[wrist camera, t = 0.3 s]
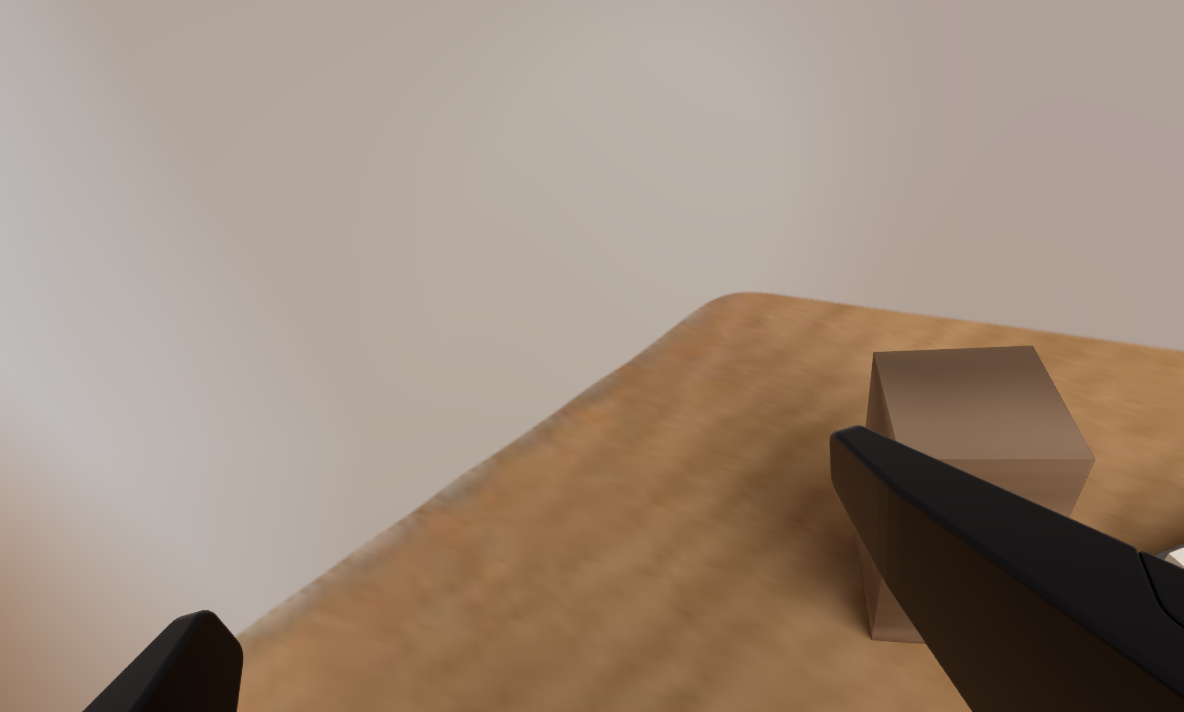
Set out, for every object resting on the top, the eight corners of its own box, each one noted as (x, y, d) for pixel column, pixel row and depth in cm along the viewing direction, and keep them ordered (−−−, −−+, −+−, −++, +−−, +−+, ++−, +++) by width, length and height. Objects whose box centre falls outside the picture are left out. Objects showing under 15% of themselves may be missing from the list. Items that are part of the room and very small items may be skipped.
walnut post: (1009, 649, 22) (1095, 459, 15) (871, 640, 23) (900, 459, 17) (973, 539, 25) (1032, 345, 19) (854, 535, 26) (873, 352, 20)
